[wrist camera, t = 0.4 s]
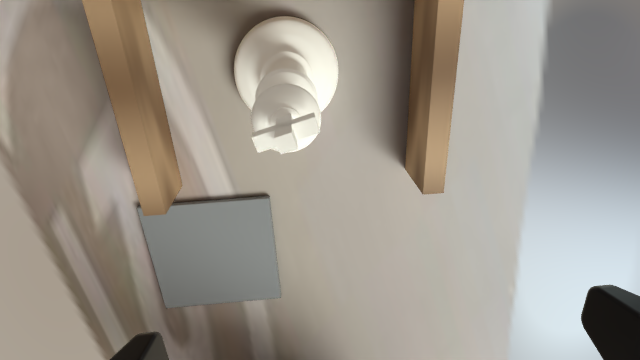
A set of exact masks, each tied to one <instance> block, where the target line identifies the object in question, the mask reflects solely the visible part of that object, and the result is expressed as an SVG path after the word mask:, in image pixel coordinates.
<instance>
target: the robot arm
mask: <svg viewBox="0 0 640 360" xmlns="http://www.w3.org/2000/svg"><path fill="white" fill-rule="evenodd" d="M581 321H582V324H583V327H584V329H585V330H586V332H587V334H588V335H589V337H590V338H591V340H592V342H593V343H594V345H595V347H596V348H597V350H598V351H599V353H600V355H601V356H602V358H603V360H640V296H638V295H635V294H633V293H631V292H628V291H626V290H623V289H621V288H619V287H617V286H613V285H603V286H594V287H591V288H590V289H589V291H588V293H587V297H586V300H585V304H584V308H583V311H582V314H581ZM110 360H169V358H168V355H167V351H166V348H165V345H164V342H163V338H162V336H161V334H160V333H159V332H148V333H140V334H138V335H136V336H135V337H134V338H132V339H131V340H130V341H129V342H128V343H127V344H126V345H125V346H124V347H123V348H122V349H121V350H120V351H118V352H117V353H116V354H115V355H114V356H113V357H112V358H111V359H110Z"/></svg>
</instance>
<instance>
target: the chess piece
mask: <svg viewBox="0 0 640 360" xmlns="http://www.w3.org/2000/svg"><path fill="white" fill-rule="evenodd" d="M234 76H235V82H236V86H237V89H238V92H239V94H240V96H241V98H242V99H243V101H244V102H245V104H246V105H247V106H248V107H249V108H250V109H251V110H252V112H251V123H252V128H253V130H254V132H253V134H252V140H253V142H254V145H255V147H256V149H257V152H258V153H259V152H262V151H266V150H269V149H273V150H275V151H279V152H280V154H283V153H286V152H294V151H298V150H301V149H303V148H305V147H306V146H308V145H309V144H310V143H311V142H312V141H313V140H314V139H315V137H316V136H317V134H318V133H320V125H321V112H322V111H323V110H324V109H325V108H326V106H327V105H328V104H329V102H330V101H331V99H332V97H333V95H334V93H335V90H336V87H337V82H338V61H337V56H336V53H335V51H334V48H333V46H332V44H331V43H330V41H329V39H328V38H327V37H326V36H325V34H324V33H323V32H322V31H321V30H320V29H318V28H317V27H316V26H314V25H313V24H311V23H309V22H308V21H305V20H303V19H300V18H296V17H290V16H280V17H274V18H270V19H267V20H265V21H263V22H261V23H259V24H257V25H256V26H255V27H253V28H252V29H251V30H250V31H249V32H248V33H247V34H246V35H245V37H244V38H243V39H242V41H241V43H240V45H239V47H238V49H237V52H236V56H235V61H234Z"/></svg>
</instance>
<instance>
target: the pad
mask: <svg viewBox="0 0 640 360" xmlns="http://www.w3.org/2000/svg"><path fill="white" fill-rule="evenodd" d="M137 210H138V214H139V217H140V221H141V224H142V227H143V231H144V234H145V238H146V241H147V245H148V248H149V251H150V255H151V258H152V262H153V265H154V269H155V272H156V275H157V279H158V282H159V286H160V289H161V293H162V296H163V299H164V303H165V306H166V308H174V307H185V306H196V305H207V304H218V303H230V302H241V301H252V300H263V299H274V298H281V291H280V282H279V274H278V265H277V257H276V248H275V240H274V231H273V223H272V214H271V206H270V197H269V196H261V197H248V198H235V199H222V200H209V201H196V202H182V203H172V205H171V206H170V208H169V210H168V212H167V213H166V214H165V215H152V216H143V212H142V209H141V206H138V208H137Z"/></svg>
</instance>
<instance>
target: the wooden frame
mask: <svg viewBox="0 0 640 360" xmlns="http://www.w3.org/2000/svg"><path fill="white" fill-rule="evenodd" d="M82 2H83V6H84V9H85V13H86V16H87V20H88V23H89V27H90V30H91V34H92V37H93V41H94V44H95V48H96V51H97V55H98V58H99V62H100V65H101V69H102V72H103V76H104V79H105V83H106V86H107V90H108V93H109V97H110V100H111V104H112V107H113V111H114V114H115V118H116V121H117V125H118V128H119V132H120V135H121V139H122V142H123V146H124V149H125V153H126V156H127V160H128V163H129V167H130V170H131V174H132V177H133V181H134V184H135V188H136V191H137V195H138V198H139V202H140V205H141V209H142V212H143V216H152V215H165V214H166V213H167V212H168V210H169V208H170V206H171V205H172V203H173V201H174V199H175V198H176V196H177V194H178V192H179V191H180V189H181V187H182V182H181V178H180V173H179V169H178V164H177V160H176V155H175V151H174V147H173V142H172V138H171V133H170V129H169V124H168V120H167V116H166V111H165V107H164V102H163V98H162V93H161V89H160V85H159V80H158V76H157V71H156V67H155V63H154V58H153V54H152V49H151V45H150V40H149V36H148V32H147V27H146V23H145V18H144V14H143V9H142V5H141V1H140V0H82ZM463 5H464V0H415V2H414V20H413V38H412V56H411V74H410V92H409V110H408V128H407V146H406V164H405V170H406V171H407V172H408V174H409V175H410V177H411V178H412V180H413V181H414V182H415V184H416V185H417V187H418V188H419V190H420V191H421V192H422V194H435V193H444V184H445V174H446V165H447V156H448V146H449V137H450V127H451V118H452V109H453V99H454V90H455V81H456V71H457V62H458V52H459V43H460V34H461V24H462V15H463Z"/></svg>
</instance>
